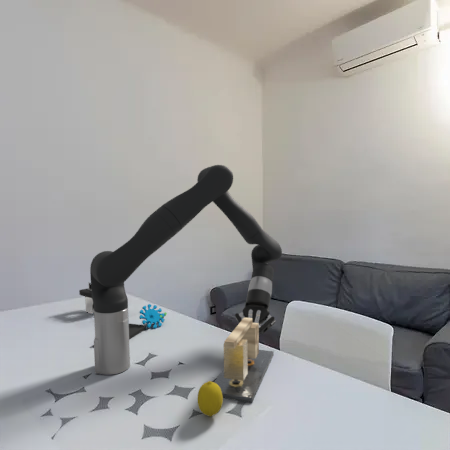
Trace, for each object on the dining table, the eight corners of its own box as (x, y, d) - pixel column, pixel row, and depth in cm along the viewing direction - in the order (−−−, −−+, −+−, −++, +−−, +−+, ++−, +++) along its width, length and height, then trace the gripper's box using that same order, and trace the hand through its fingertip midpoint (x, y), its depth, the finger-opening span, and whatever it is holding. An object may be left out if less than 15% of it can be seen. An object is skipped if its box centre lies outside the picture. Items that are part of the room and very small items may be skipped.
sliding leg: (242, 353, 107) (241, 314, 106) (258, 356, 106) (258, 316, 105) (219, 388, 88) (219, 340, 87) (239, 391, 87) (239, 343, 86)
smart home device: (92, 342, 120) (128, 322, 139) (92, 348, 120) (128, 327, 139) (113, 345, 117) (147, 325, 136) (113, 351, 117) (147, 329, 136)
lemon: (197, 409, 83) (197, 375, 83) (222, 408, 84) (221, 374, 83) (198, 424, 78) (197, 388, 77) (224, 423, 78) (223, 387, 78)
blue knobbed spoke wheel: (143, 327, 132) (137, 303, 138) (137, 335, 135) (132, 312, 141) (170, 325, 138) (164, 302, 144) (164, 333, 142) (158, 310, 148)
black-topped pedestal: (54, 313, 157) (53, 282, 156) (112, 301, 174) (111, 273, 173) (80, 330, 136) (78, 295, 135) (143, 314, 154) (141, 283, 153)
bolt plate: (238, 351, 115) (238, 313, 114) (273, 355, 111) (273, 316, 110) (208, 395, 89) (207, 347, 88) (252, 402, 86) (251, 353, 85)
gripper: (237, 286, 117) (225, 338, 106) (278, 289, 113) (271, 343, 102) (241, 298, 122) (231, 348, 112) (281, 301, 118) (274, 353, 107)
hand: (250, 346), depth 107 cm, fingers closed
